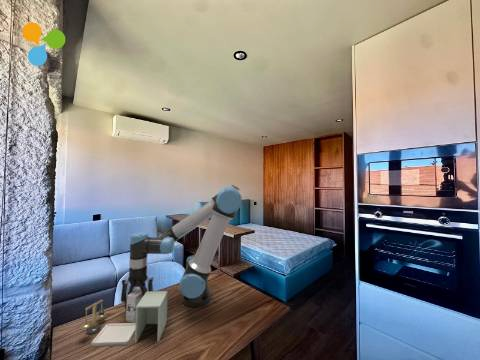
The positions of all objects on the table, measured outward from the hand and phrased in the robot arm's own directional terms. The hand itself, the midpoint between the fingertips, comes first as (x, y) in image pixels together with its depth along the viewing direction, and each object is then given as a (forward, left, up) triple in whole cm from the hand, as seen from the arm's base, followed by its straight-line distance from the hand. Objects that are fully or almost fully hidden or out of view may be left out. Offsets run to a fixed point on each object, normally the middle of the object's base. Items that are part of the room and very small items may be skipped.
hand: (136, 315), depth 95 cm
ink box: (0, 0, -1) cm, 1 cm away
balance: (+14, +8, 0) cm, 16 cm away
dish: (+3, +12, 0) cm, 12 cm away
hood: (-11, +10, 0) cm, 15 cm away
